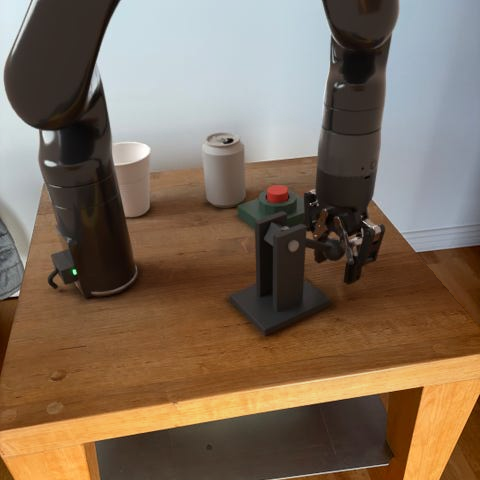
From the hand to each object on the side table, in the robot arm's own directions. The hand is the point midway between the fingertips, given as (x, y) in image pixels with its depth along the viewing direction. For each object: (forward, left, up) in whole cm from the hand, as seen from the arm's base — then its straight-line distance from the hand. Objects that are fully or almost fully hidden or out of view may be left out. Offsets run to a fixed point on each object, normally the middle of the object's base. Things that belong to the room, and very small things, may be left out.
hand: (335, 270), depth 73 cm
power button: (+4, +20, +2) cm, 20 cm away
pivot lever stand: (-10, 0, -1) cm, 10 cm away
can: (0, +31, -2) cm, 31 cm away
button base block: (+4, +20, -1) cm, 20 cm away
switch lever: (-6, 0, +5) cm, 8 cm away
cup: (-16, +38, -2) cm, 41 cm away
